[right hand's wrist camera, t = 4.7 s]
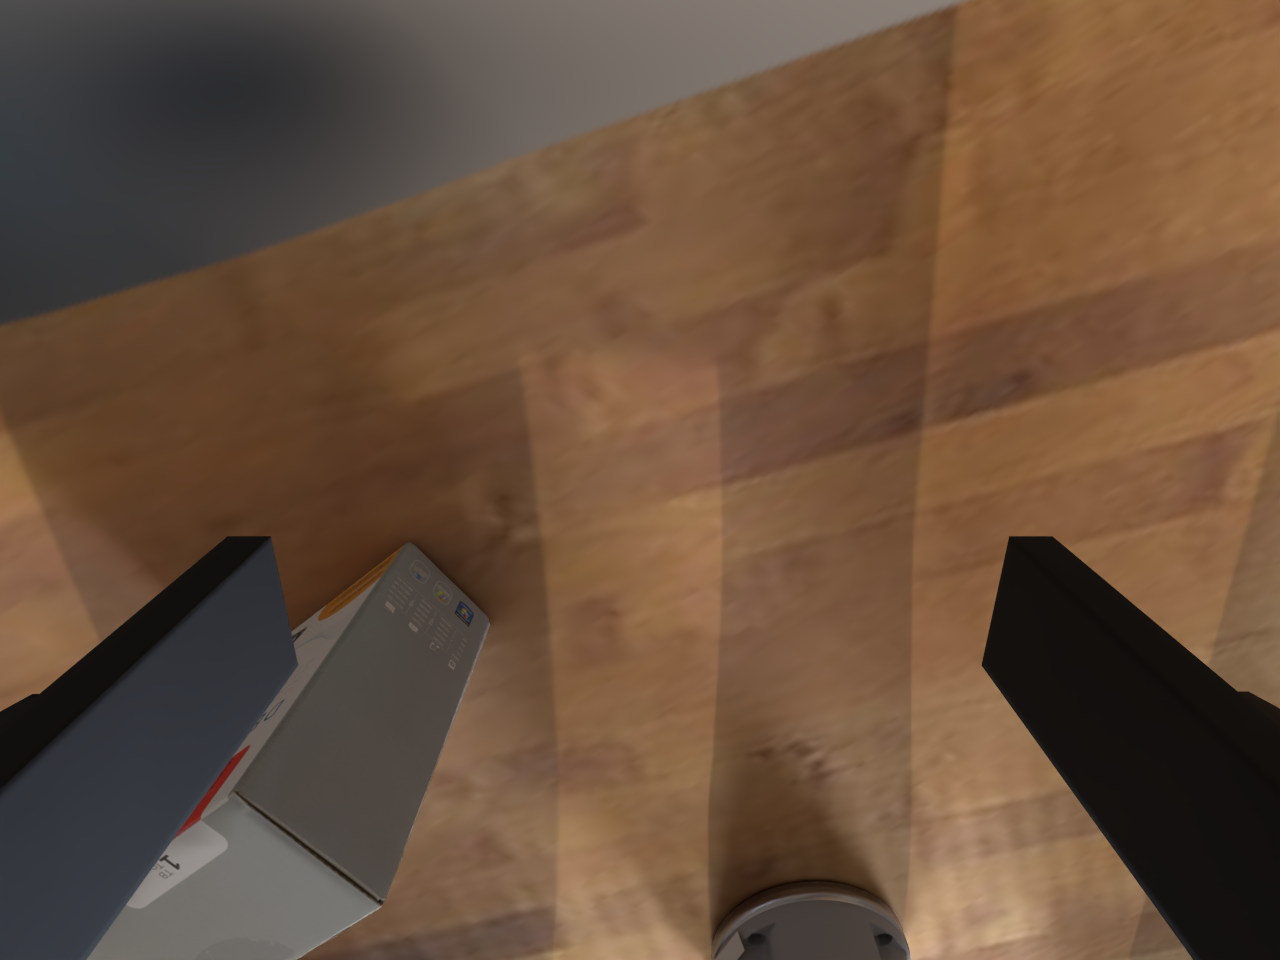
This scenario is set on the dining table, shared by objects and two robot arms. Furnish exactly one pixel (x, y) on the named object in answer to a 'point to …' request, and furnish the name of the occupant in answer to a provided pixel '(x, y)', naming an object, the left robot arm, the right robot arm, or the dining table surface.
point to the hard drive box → (317, 780)
